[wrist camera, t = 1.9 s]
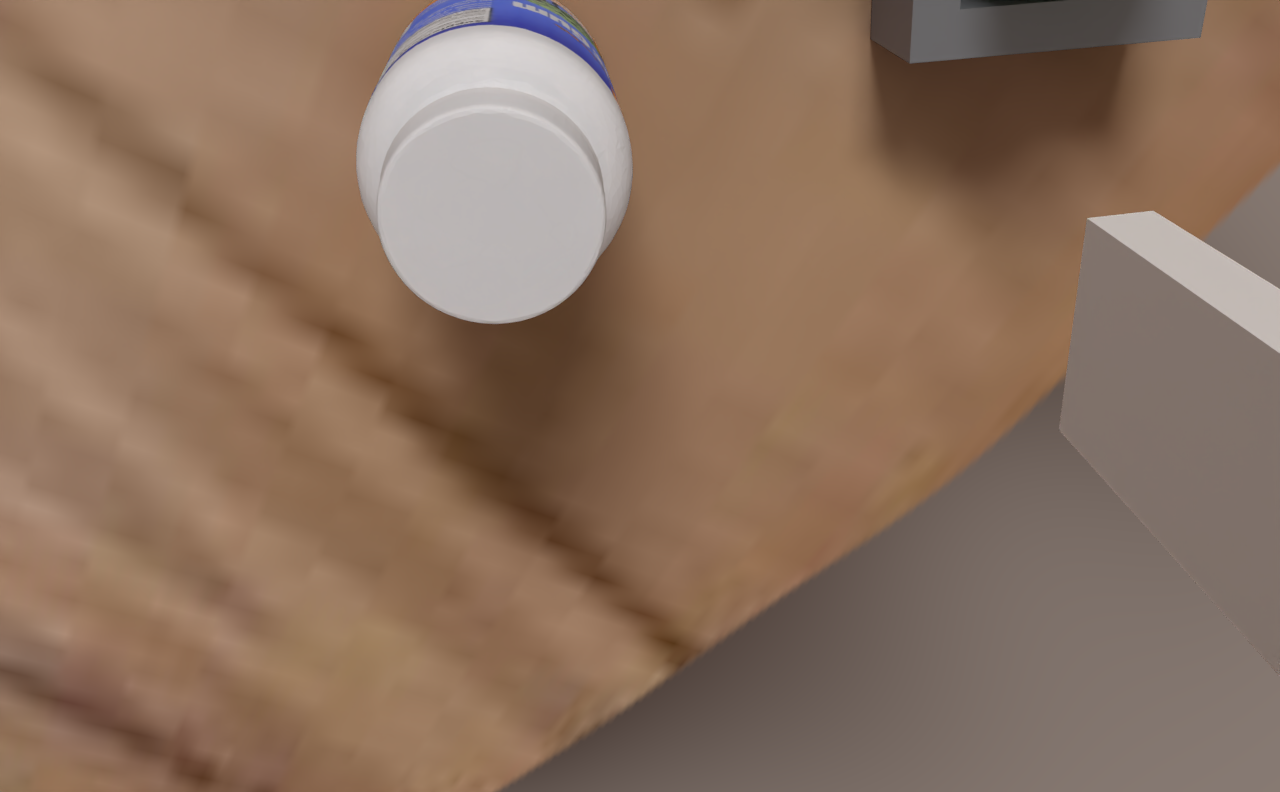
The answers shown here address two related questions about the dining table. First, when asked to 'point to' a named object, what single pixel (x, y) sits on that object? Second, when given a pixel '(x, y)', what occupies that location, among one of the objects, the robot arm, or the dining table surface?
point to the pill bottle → (494, 158)
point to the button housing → (1026, 25)
